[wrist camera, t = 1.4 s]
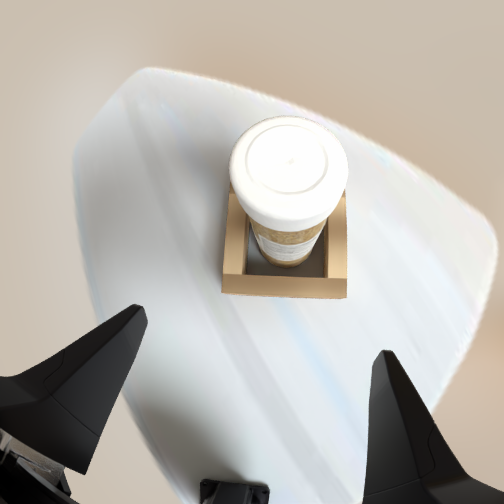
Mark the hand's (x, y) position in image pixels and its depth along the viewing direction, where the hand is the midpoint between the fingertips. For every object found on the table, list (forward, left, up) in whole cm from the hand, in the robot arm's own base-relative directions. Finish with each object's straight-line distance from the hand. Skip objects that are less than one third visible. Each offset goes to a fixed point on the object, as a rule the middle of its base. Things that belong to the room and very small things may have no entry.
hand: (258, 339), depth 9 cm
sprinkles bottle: (+6, -1, -13) cm, 14 cm away
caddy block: (+6, -1, -12) cm, 14 cm away
